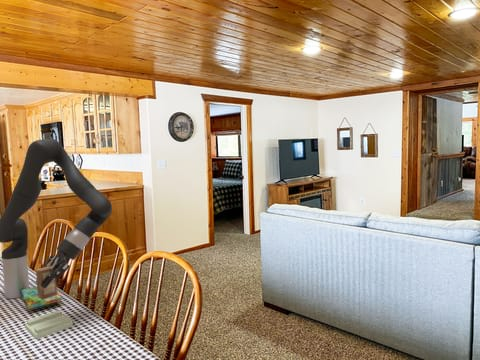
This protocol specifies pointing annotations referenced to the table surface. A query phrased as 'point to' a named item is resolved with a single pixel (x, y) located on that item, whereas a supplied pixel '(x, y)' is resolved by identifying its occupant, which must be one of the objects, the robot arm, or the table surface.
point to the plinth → (48, 324)
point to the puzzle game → (38, 299)
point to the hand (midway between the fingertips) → (40, 285)
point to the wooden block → (50, 289)
